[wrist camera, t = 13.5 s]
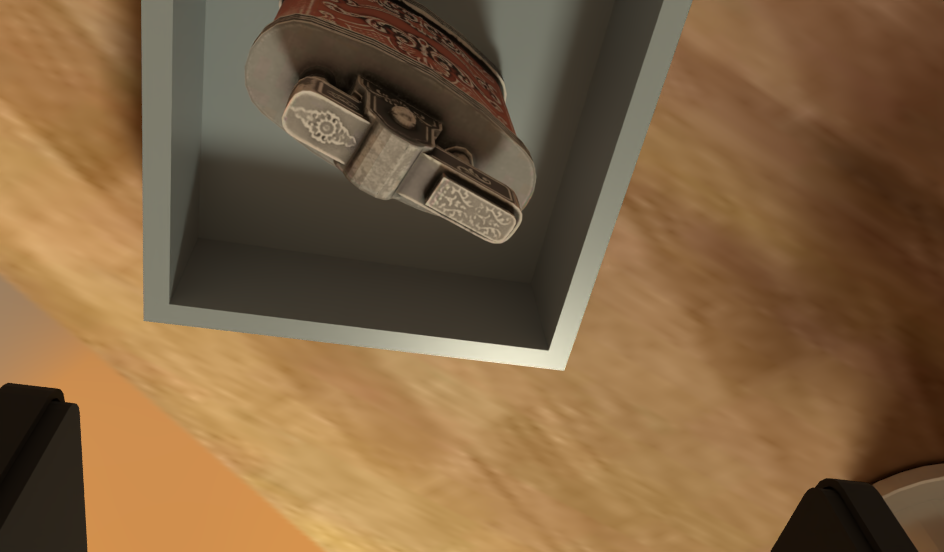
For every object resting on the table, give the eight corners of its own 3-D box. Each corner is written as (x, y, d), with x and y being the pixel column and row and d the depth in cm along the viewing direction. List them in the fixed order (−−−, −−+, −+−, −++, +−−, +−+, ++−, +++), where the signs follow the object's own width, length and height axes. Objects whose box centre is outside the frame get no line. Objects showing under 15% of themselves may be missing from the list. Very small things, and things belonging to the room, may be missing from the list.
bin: (542, 294, 33) (564, 370, 29) (179, 244, 30) (143, 320, 26) (702, -222, 23) (768, -221, 19) (190, -358, 21) (138, -391, 17)
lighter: (263, 28, 26) (198, 148, 17) (311, -67, 24) (266, 13, 16) (470, 148, 28) (501, 302, 20) (523, 69, 27) (582, 199, 19)
